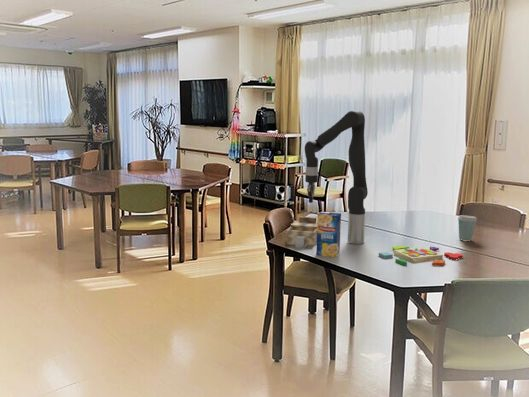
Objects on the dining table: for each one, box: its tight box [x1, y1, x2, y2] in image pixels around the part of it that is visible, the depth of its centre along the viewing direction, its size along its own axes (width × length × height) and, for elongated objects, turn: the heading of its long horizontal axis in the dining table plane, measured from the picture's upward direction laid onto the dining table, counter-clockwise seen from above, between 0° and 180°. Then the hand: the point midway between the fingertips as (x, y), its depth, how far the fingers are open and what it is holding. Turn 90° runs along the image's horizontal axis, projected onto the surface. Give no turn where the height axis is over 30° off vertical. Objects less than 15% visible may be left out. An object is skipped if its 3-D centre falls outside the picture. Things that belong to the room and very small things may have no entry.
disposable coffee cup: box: [457, 214, 478, 241], centre depth 295 cm, size 11×11×15 cm
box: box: [285, 225, 317, 247], centre depth 285 cm, size 16×12×8 cm
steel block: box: [294, 236, 306, 249], centre depth 276 cm, size 4×4×6 cm
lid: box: [290, 215, 317, 228], centre depth 293 cm, size 16×12×4 cm
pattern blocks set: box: [378, 245, 464, 267], centre depth 261 cm, size 38×34×3 cm
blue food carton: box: [315, 211, 342, 258], centre depth 261 cm, size 7×11×22 cm, turn 68°
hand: (310, 202), depth 302 cm, fingers closed
